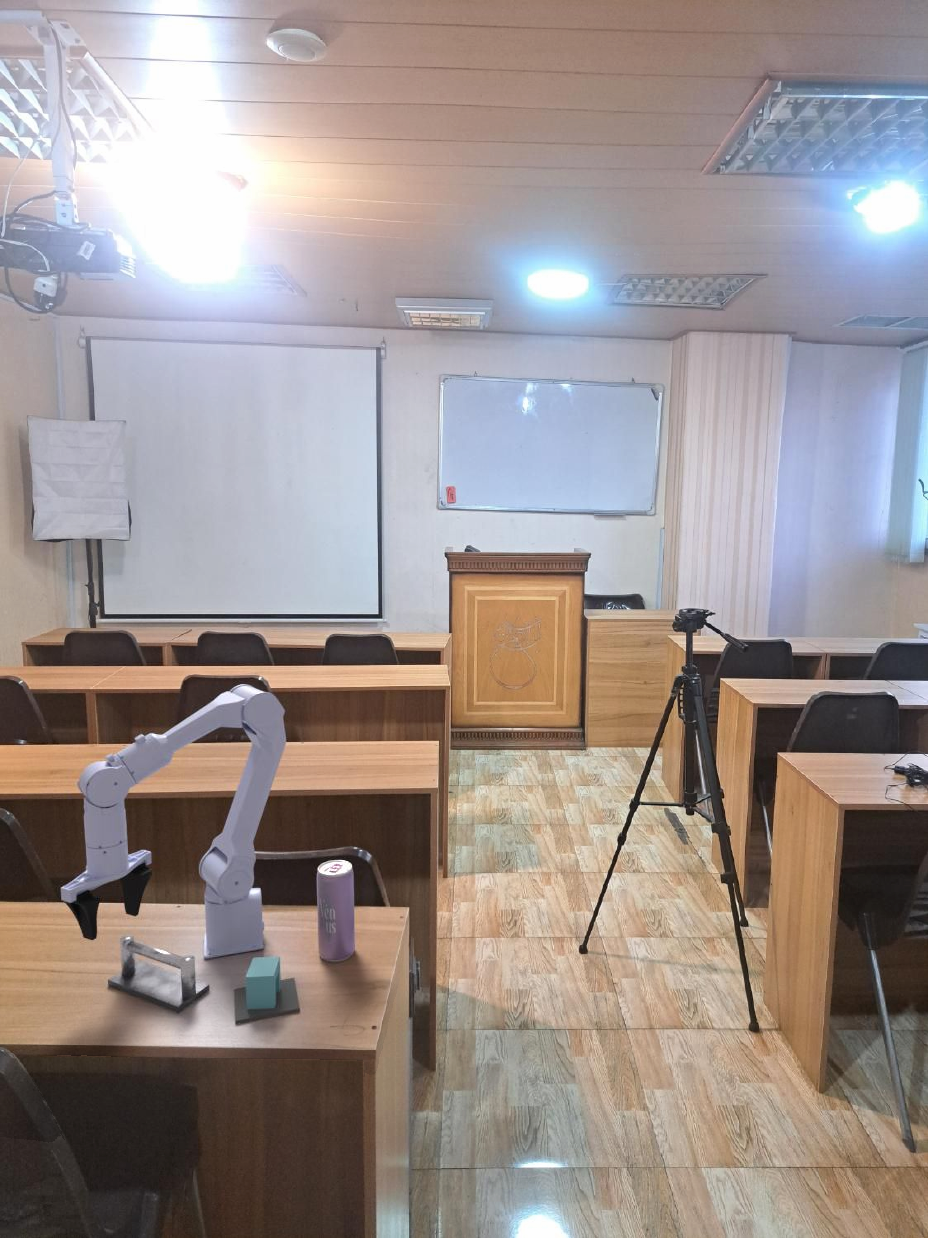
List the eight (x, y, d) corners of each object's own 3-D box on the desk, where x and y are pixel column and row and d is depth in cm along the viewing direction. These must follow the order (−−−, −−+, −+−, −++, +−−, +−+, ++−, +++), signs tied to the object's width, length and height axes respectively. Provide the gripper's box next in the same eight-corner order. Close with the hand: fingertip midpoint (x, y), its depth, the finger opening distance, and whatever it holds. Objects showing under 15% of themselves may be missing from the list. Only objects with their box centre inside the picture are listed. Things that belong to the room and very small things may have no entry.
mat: (294, 980, 115) (294, 977, 115) (299, 1011, 108) (299, 1008, 108) (234, 992, 112) (233, 989, 112) (235, 1024, 105) (235, 1021, 105)
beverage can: (361, 947, 125) (359, 862, 123) (344, 966, 119) (342, 877, 117) (329, 941, 126) (327, 857, 125) (311, 960, 121) (309, 872, 119)
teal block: (254, 988, 112) (253, 957, 112) (280, 987, 112) (279, 956, 112) (246, 1009, 107) (245, 977, 107) (274, 1008, 108) (273, 976, 107)
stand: (140, 966, 119) (138, 927, 119) (209, 990, 113) (207, 950, 112) (108, 986, 114) (105, 946, 113) (178, 1013, 107) (176, 971, 107)
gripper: (127, 820, 120) (132, 899, 122) (44, 855, 107) (50, 943, 109) (159, 827, 117) (163, 908, 119) (77, 863, 104) (83, 954, 106)
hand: (111, 925), depth 114 cm, fingers open, 7 cm apart
